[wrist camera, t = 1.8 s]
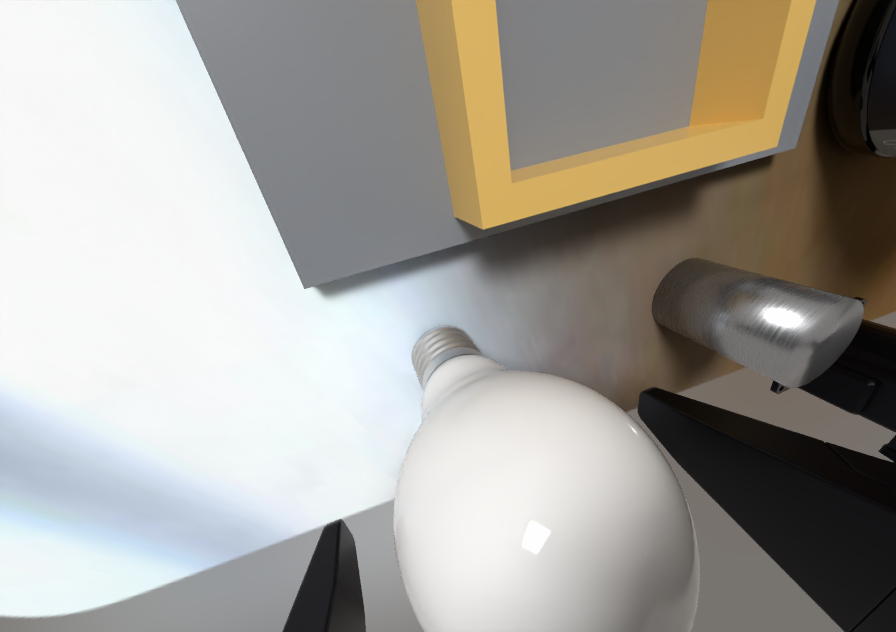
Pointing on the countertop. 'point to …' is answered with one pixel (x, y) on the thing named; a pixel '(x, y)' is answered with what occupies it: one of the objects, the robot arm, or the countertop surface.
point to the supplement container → (865, 81)
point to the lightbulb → (536, 506)
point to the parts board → (493, 109)
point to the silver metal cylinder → (758, 319)
